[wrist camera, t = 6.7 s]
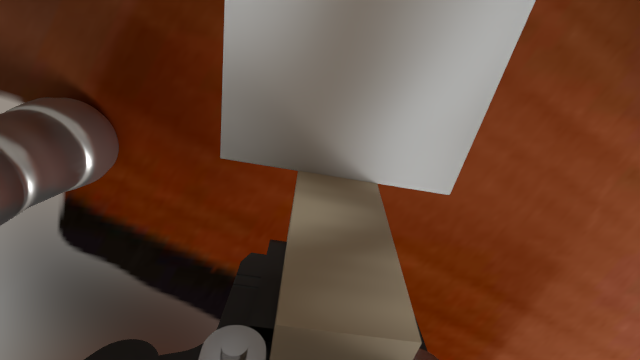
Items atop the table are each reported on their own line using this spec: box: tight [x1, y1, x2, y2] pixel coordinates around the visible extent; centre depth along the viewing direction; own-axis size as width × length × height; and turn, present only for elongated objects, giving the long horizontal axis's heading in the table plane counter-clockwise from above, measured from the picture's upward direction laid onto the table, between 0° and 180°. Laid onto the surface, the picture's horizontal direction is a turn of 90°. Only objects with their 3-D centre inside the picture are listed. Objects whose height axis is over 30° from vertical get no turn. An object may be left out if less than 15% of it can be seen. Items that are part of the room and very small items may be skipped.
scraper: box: [220, 0, 535, 360], centre depth 8 cm, size 7×16×6 cm, turn 170°
